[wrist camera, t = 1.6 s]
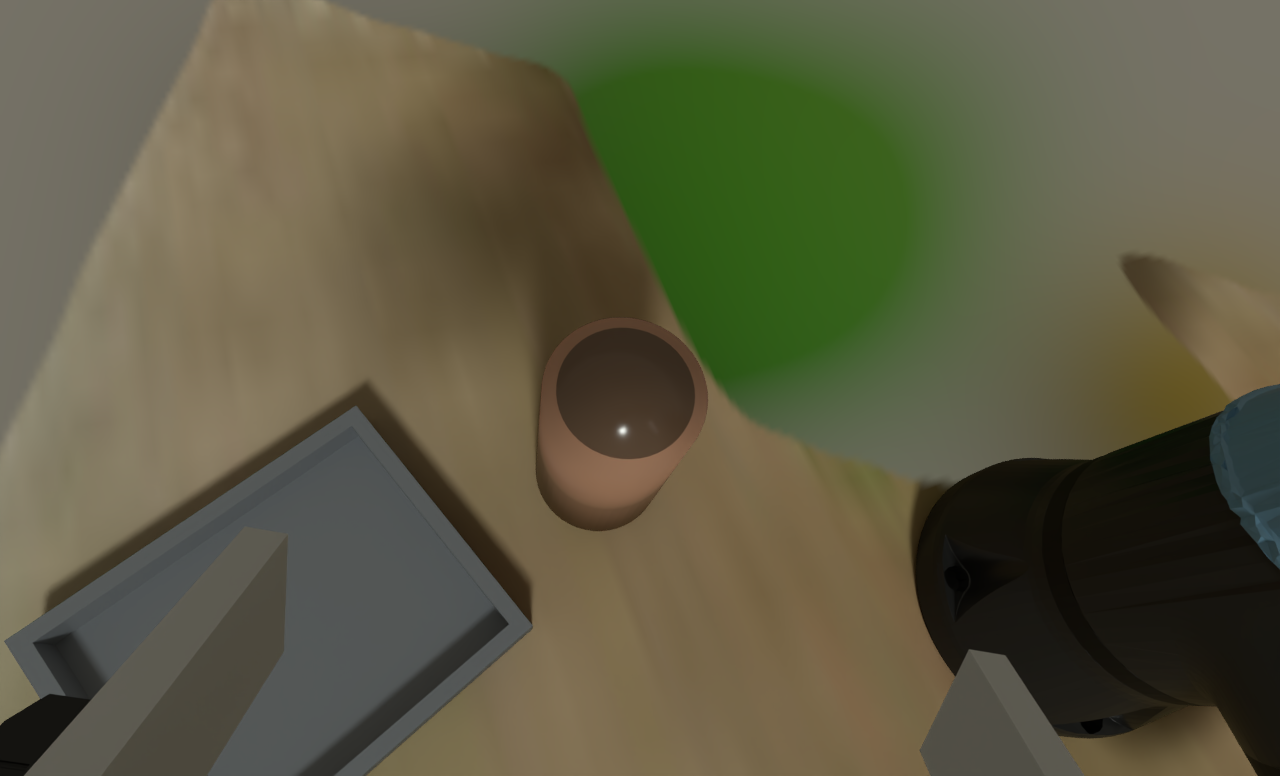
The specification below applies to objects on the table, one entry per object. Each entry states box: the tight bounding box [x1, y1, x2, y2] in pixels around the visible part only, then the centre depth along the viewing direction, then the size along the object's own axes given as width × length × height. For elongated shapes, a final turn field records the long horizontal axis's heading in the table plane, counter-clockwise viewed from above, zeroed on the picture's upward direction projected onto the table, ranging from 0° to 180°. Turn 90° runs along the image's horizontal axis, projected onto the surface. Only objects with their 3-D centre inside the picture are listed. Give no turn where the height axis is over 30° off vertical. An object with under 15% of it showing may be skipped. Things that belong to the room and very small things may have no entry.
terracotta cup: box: [536, 317, 708, 531], centre depth 36 cm, size 7×7×12 cm
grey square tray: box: [4, 406, 533, 776], centre depth 35 cm, size 15×18×2 cm
